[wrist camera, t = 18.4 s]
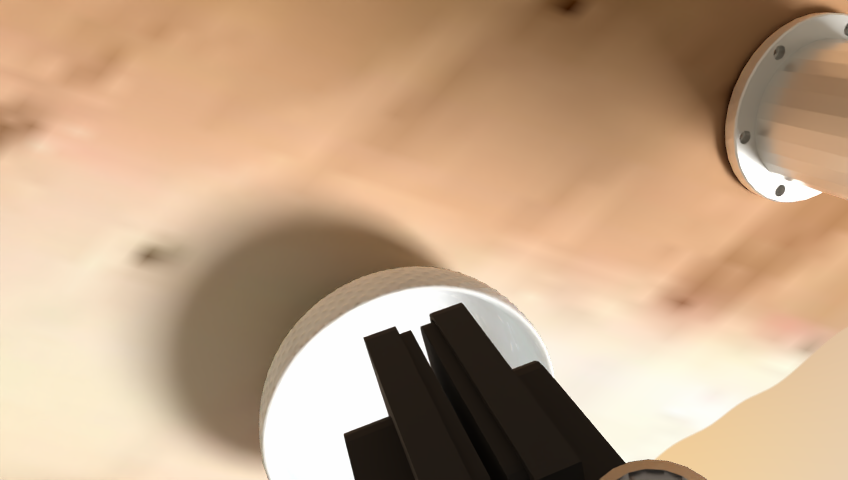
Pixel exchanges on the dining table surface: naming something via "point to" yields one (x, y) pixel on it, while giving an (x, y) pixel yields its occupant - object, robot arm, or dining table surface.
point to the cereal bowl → (365, 362)
